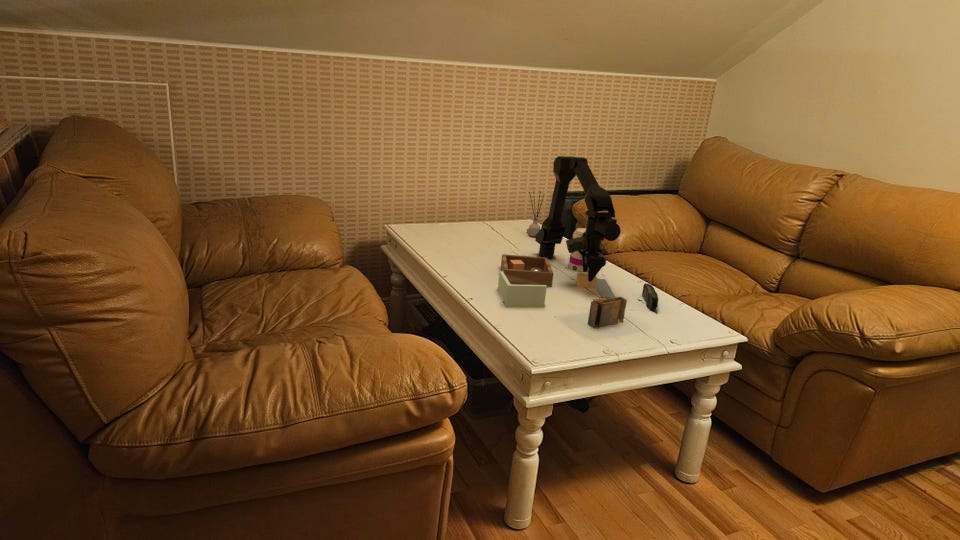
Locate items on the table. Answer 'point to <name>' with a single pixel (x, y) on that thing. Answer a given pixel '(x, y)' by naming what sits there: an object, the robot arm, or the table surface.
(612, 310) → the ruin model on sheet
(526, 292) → the right angle wall
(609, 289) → the lid
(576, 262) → the supplement can
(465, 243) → the table surface
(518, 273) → the box
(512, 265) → the terracotta cube
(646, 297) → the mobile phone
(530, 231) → the reed diffuser
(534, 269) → the grey metal cylinder
